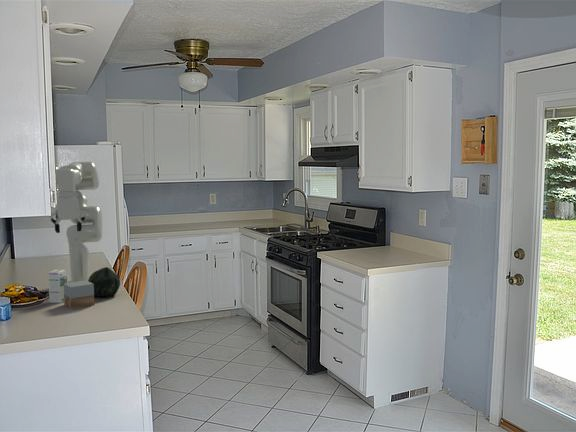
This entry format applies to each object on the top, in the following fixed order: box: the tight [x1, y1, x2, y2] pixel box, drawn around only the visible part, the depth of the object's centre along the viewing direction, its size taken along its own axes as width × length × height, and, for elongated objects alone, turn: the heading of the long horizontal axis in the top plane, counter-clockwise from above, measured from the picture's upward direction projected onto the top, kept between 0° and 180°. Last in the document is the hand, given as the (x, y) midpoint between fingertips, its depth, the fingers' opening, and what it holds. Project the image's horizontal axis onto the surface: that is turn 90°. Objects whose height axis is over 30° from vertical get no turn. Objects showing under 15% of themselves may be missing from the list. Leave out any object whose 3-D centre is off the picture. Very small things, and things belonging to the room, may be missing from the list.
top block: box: [64, 280, 94, 298], centre depth 237 cm, size 10×10×5 cm
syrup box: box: [47, 269, 68, 304], centre depth 244 cm, size 6×6×14 cm
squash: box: [88, 266, 121, 298], centre depth 254 cm, size 14×15×15 cm
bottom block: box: [64, 295, 95, 310], centre depth 238 cm, size 10×10×5 cm
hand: (68, 231), depth 247 cm, fingers open, 9 cm apart
